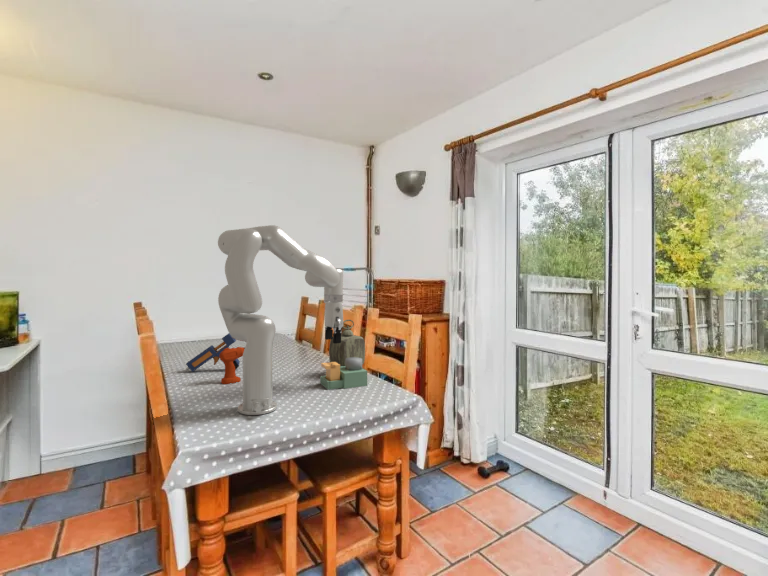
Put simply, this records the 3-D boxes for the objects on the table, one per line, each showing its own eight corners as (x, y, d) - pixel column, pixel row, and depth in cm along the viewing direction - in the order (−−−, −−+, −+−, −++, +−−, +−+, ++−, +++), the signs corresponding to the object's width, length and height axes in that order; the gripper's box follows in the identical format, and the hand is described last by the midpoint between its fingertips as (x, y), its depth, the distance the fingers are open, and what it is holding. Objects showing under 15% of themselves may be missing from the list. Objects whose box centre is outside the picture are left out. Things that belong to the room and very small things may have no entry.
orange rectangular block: (340, 386, 161) (340, 364, 161) (325, 388, 158) (325, 366, 158) (334, 383, 167) (335, 361, 166) (321, 384, 164) (321, 363, 163)
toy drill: (267, 374, 174) (263, 340, 172) (223, 387, 162) (218, 351, 160) (263, 372, 177) (259, 339, 175) (219, 384, 165) (215, 349, 164)
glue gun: (201, 392, 185) (180, 367, 182) (257, 351, 192) (238, 326, 189) (199, 395, 179) (177, 369, 176) (257, 352, 186) (237, 327, 183)
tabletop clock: (353, 370, 188) (353, 317, 187) (366, 374, 182) (367, 319, 181) (328, 376, 178) (329, 320, 176) (342, 380, 171) (342, 322, 170)
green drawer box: (367, 385, 163) (367, 361, 163) (329, 390, 156) (329, 365, 156) (355, 378, 174) (356, 355, 174) (319, 382, 167) (319, 358, 166)
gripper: (350, 300, 155) (349, 344, 156) (334, 297, 171) (334, 337, 171) (331, 300, 152) (331, 345, 153) (317, 297, 167) (317, 338, 168)
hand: (332, 341), depth 162 cm, fingers open, 9 cm apart
